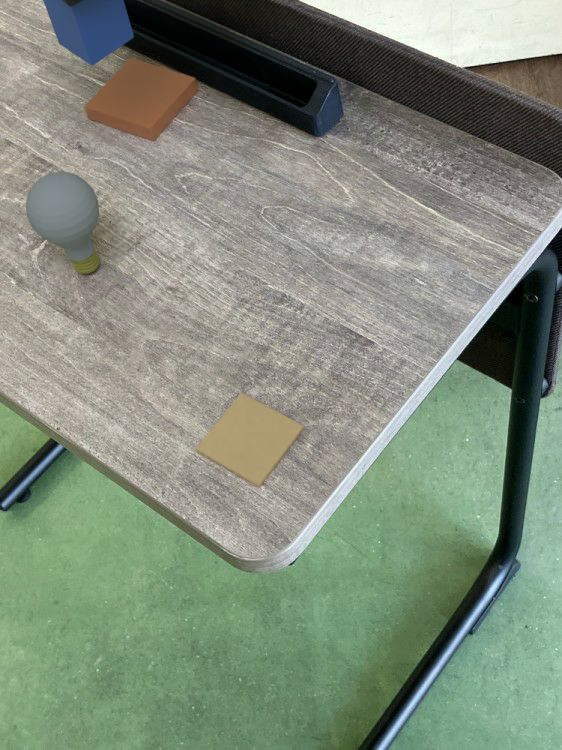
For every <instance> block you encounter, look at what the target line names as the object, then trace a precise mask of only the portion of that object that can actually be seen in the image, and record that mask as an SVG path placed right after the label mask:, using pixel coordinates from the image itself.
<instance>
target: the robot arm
mask: <svg viewBox="0 0 562 750" xmlns="http://www.w3.org/2000/svg"><path fill="white" fill-rule="evenodd" d="M81 1H84V0H62V2H64V3H65V4H67V5H68V6H74V5H76V4H77V3H79V2H81Z"/></svg>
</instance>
